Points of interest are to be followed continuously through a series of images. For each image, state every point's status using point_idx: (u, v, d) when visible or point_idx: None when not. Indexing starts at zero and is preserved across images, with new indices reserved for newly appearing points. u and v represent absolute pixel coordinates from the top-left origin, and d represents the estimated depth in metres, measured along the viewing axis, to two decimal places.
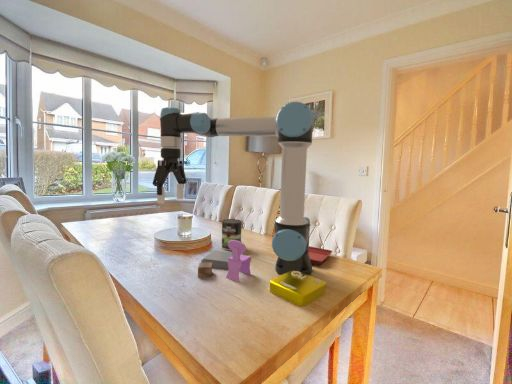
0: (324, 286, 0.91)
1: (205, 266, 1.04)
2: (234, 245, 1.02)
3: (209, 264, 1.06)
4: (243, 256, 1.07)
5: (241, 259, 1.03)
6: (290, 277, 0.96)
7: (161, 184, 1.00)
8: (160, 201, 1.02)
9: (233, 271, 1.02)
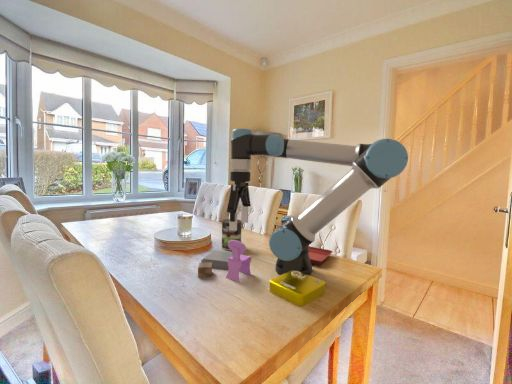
0: (324, 286, 0.92)
1: (205, 266, 1.04)
2: (234, 245, 1.02)
3: (209, 264, 1.06)
4: (243, 256, 1.07)
5: (241, 259, 1.03)
6: (289, 277, 0.96)
7: (235, 210, 0.94)
8: (232, 228, 0.96)
9: (233, 271, 1.02)
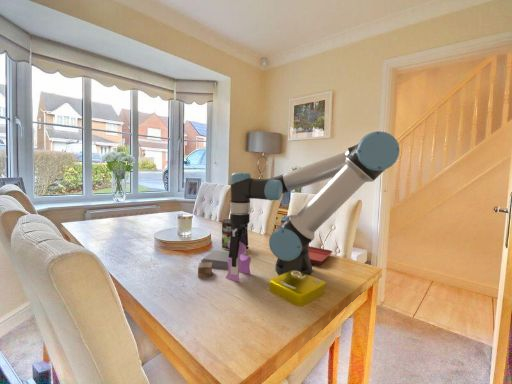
0: (324, 286, 0.92)
1: (206, 266, 1.04)
2: None
3: (209, 264, 1.06)
4: (243, 256, 1.07)
5: (241, 259, 1.03)
6: (289, 276, 0.96)
7: (236, 257, 0.98)
8: (234, 272, 1.00)
9: None
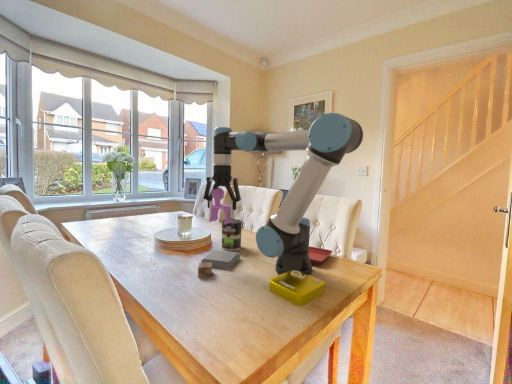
0: (323, 286, 0.92)
1: (206, 266, 1.04)
2: None
3: (209, 264, 1.06)
4: (225, 206, 1.15)
5: (216, 205, 1.15)
6: (289, 276, 0.96)
7: (207, 199, 1.17)
8: None
9: None
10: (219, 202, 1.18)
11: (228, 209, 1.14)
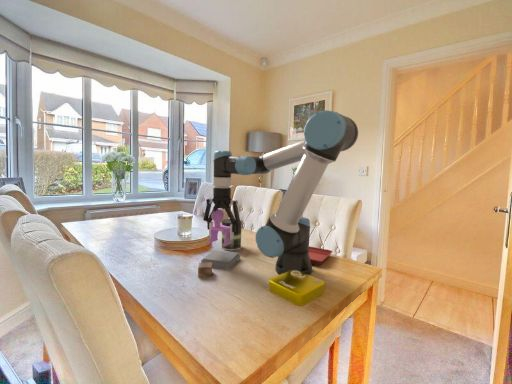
0: (323, 286, 0.92)
1: (206, 266, 1.04)
2: None
3: (209, 264, 1.06)
4: (225, 228, 1.16)
5: (216, 227, 1.16)
6: (289, 276, 0.97)
7: (207, 221, 1.18)
8: None
9: None
10: (219, 223, 1.19)
11: (228, 231, 1.16)
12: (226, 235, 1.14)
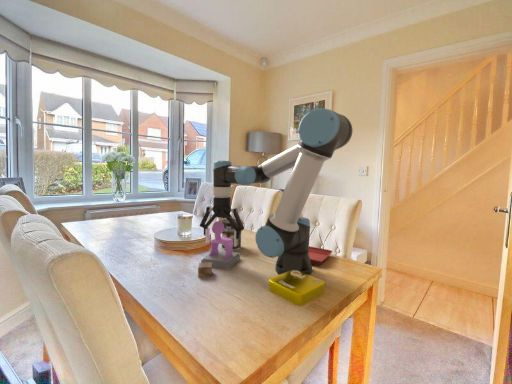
0: (323, 286, 0.92)
1: (206, 266, 1.04)
2: None
3: (209, 264, 1.06)
4: (225, 240, 1.16)
5: (216, 240, 1.17)
6: (289, 276, 0.97)
7: (203, 226, 1.18)
8: None
9: None
10: (219, 236, 1.19)
11: (228, 244, 1.16)
12: (227, 248, 1.15)
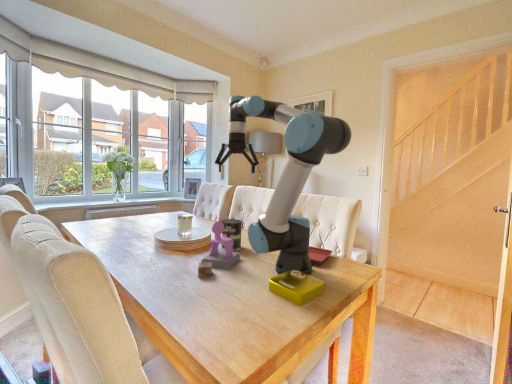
0: (323, 285, 0.92)
1: (206, 266, 1.04)
2: None
3: (209, 264, 1.06)
4: (225, 240, 1.16)
5: (216, 240, 1.17)
6: (289, 276, 0.97)
7: (218, 163, 1.22)
8: None
9: None
10: (219, 236, 1.19)
11: (228, 244, 1.16)
12: (227, 248, 1.15)
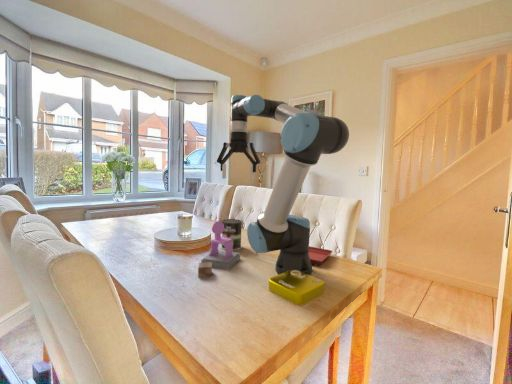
0: (323, 285, 0.92)
1: (206, 266, 1.04)
2: None
3: (209, 264, 1.06)
4: (225, 240, 1.16)
5: (216, 240, 1.17)
6: (289, 276, 0.97)
7: (220, 162, 1.23)
8: None
9: None
10: (219, 236, 1.19)
11: (228, 244, 1.16)
12: (227, 248, 1.15)
